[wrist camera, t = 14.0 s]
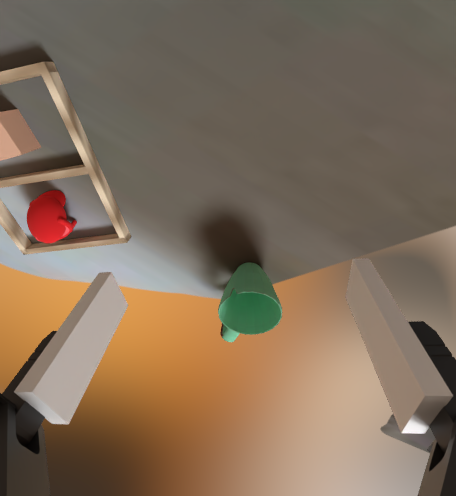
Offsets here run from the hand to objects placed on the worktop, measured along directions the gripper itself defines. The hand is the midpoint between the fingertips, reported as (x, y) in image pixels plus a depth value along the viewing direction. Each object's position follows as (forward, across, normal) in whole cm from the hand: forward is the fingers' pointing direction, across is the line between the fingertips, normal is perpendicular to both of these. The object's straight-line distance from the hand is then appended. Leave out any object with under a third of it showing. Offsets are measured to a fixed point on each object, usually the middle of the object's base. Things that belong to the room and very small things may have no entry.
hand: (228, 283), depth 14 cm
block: (+26, -31, +6) cm, 41 cm away
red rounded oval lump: (+26, -30, -6) cm, 41 cm away
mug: (+26, -2, -24) cm, 35 cm away
